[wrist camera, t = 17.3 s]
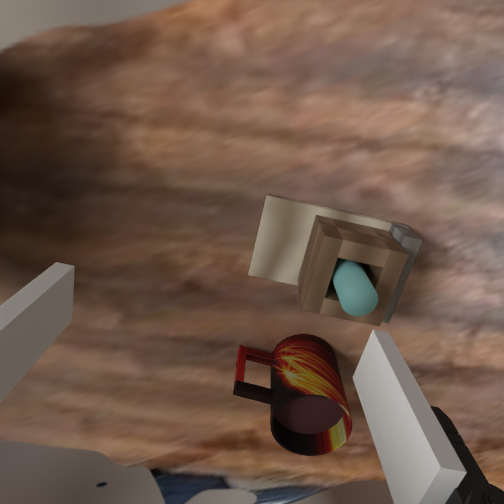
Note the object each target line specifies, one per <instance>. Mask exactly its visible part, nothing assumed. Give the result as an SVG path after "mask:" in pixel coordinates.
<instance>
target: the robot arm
mask: <svg viewBox="0 0 504 504" xmlns="http://www.w3.org/2000/svg"><path fill="white" fill-rule="evenodd" d="M74 269H75V266H72V265H68V264H63V263H58V262H56V263H54V264H53V265H52V266H51V267H49V268H48V269H47V270H45V271H44V272H43V273H42V274H40V275H39V276H38V277H36V278H35V279H34V280H32V281H31V282H30V283H29V284H27V285H26V286H25V287H23V288H22V289H21V290H20V291H18V292H17V293H16V294H14V295H13V296H12V297H11V298H9V299H8V300H7V301H5V302H4V303H3V304H1V305H0V402H1V401H2V400H3V399H4V398H5V397H6V396H7V394H8V393H9V392H10V391H11V390H12V389H13V388H14V386H15V385H16V384H17V383H18V382H19V381H20V380H21V378H22V377H23V376H24V375H25V374H26V373H27V372H28V370H29V369H30V368H31V367H32V366H33V365H34V364H35V362H36V361H37V360H38V359H39V358H40V357H41V356H42V354H43V353H44V352H45V351H46V350H47V349H48V347H49V346H50V345H51V344H52V343H53V342H54V341H55V339H56V338H57V337H58V336H59V335H60V334H61V333H62V331H63V330H64V329H65V328H66V327H67V326H68V325H69V323H70V322H71V321H72V309H73V289H74ZM353 381H354V384H355V387H356V390H357V393H358V396H359V399H360V402H361V405H362V408H363V411H364V414H365V417H366V420H367V423H368V426H369V429H370V432H371V435H372V438H373V441H374V444H375V447H376V450H377V453H378V456H379V459H380V462H381V465H382V468H383V471H384V474H385V477H386V480H387V483H388V486H389V489H390V492H391V495H392V498H393V501H394V504H504V491H502V490H501V489H499V488H497V487H496V486H494V485H492V484H489V483H488V481H487V480H486V478H485V476H484V474H483V473H482V471H481V469H480V468H479V466H478V464H477V463H476V461H475V459H474V458H473V456H472V454H471V453H470V451H469V449H468V448H467V446H465V443H464V441H463V439H462V438H461V436H460V435H458V431H457V429H456V428H455V426H454V424H453V423H452V421H451V420H450V418H449V417H448V416H447V415H446V414H445V413H444V412H443V411H442V410H441V409H440V408H438V407H433V406H430V405H429V403H428V402H427V400H426V398H425V396H424V394H423V393H422V391H421V389H420V387H419V385H418V384H417V382H416V380H415V378H414V376H413V375H412V373H411V371H410V369H409V367H408V366H407V364H406V362H405V360H404V358H403V357H402V355H401V353H400V351H399V349H398V348H397V346H396V344H395V342H394V340H393V339H392V337H391V335H390V333H387V332H383V331H378V330H372V333H371V335H370V337H369V340H368V342H367V344H366V347H365V349H364V352H363V354H362V356H361V359H360V361H359V364H358V366H357V368H356V371H355V373H354V375H353Z"/></svg>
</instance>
